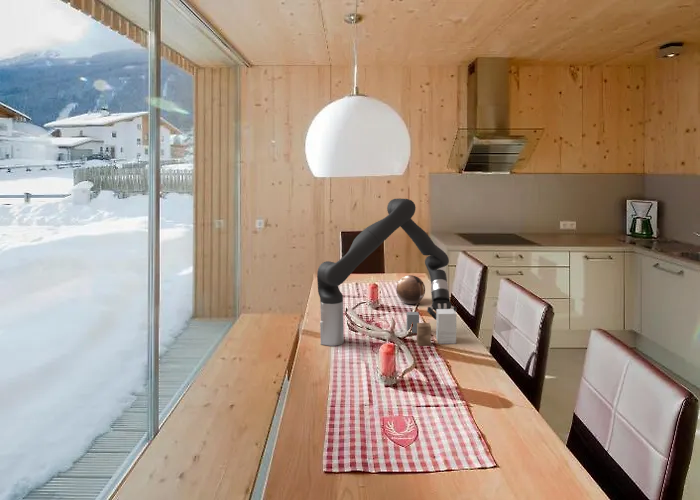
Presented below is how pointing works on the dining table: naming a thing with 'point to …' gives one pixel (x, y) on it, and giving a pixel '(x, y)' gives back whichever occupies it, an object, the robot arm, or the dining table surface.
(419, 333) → the walnut block
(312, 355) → the dining table surface
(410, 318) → the grey block
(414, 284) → the wooden sphere
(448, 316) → the supplement box
